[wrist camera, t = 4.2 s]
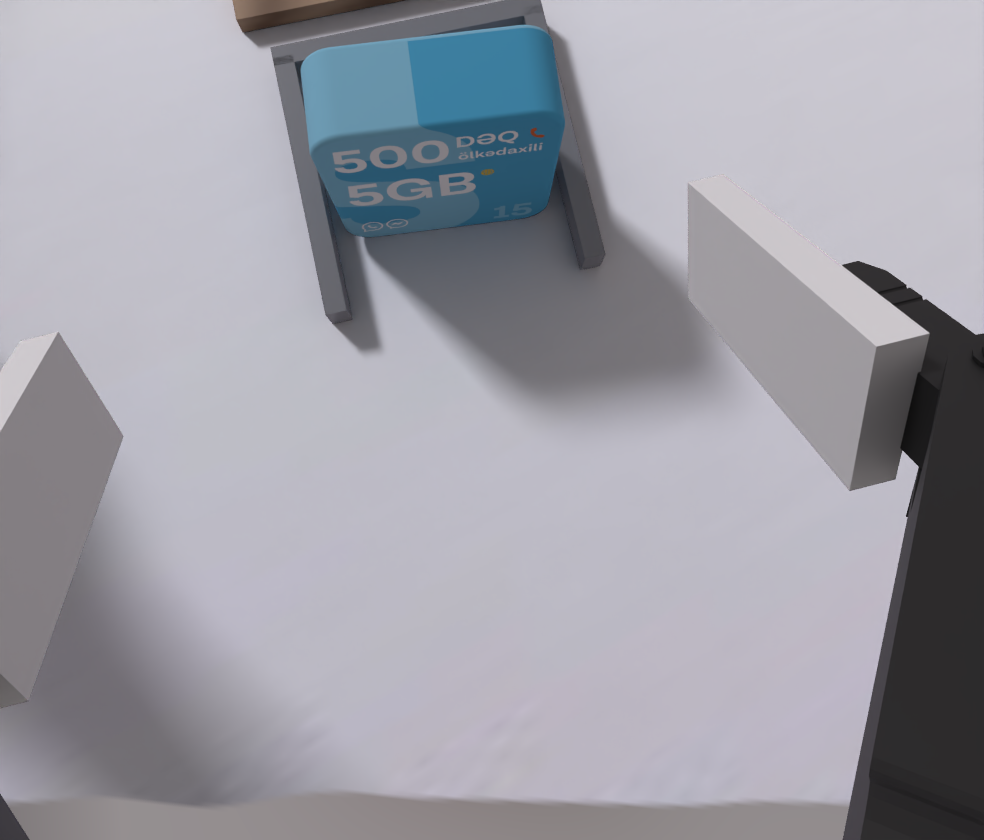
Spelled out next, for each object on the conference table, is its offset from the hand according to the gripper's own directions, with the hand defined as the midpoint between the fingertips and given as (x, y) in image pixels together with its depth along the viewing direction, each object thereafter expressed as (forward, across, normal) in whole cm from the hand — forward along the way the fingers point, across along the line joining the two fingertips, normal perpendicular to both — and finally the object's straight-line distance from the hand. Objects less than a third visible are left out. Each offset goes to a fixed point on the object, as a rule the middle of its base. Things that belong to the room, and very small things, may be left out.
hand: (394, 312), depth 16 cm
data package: (+30, +3, -9) cm, 32 cm away
